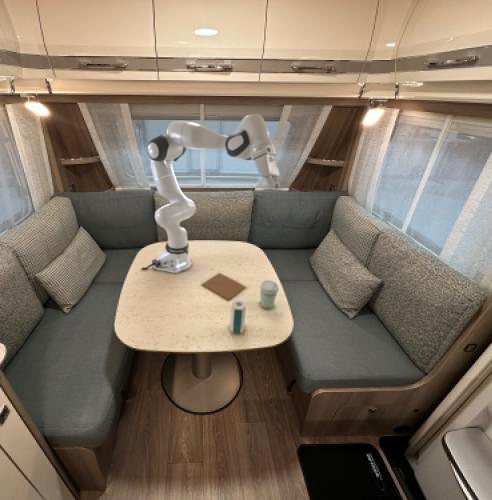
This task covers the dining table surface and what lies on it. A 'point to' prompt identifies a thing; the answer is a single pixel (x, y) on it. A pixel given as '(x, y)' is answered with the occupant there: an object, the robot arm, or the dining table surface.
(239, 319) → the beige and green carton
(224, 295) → the cork mat
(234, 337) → the dining table surface
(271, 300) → the coffee cup
